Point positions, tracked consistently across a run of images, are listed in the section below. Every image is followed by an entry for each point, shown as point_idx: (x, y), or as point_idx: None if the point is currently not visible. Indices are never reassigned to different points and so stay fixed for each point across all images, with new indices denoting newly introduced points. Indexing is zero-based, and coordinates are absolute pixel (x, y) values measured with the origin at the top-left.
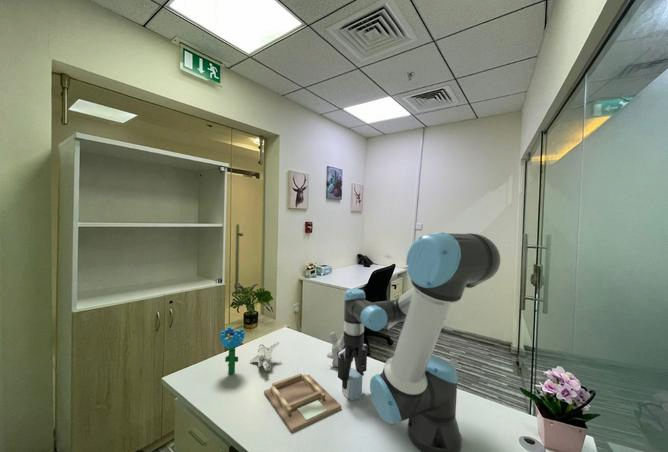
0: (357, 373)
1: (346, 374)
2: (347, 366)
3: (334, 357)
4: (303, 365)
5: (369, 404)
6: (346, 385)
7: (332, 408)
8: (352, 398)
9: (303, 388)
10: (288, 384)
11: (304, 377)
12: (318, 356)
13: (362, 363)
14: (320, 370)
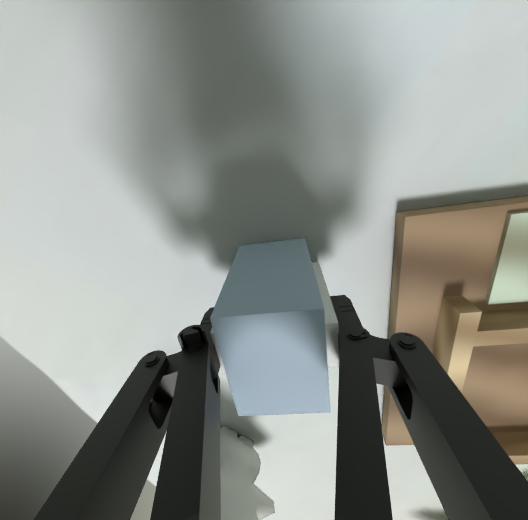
0: (237, 353)
1: (374, 370)
2: (384, 457)
3: (249, 494)
4: None
5: (232, 175)
6: (335, 308)
7: (466, 217)
8: (306, 242)
9: (472, 392)
10: (506, 432)
11: None
12: (272, 496)
13: (147, 426)
14: (312, 444)
